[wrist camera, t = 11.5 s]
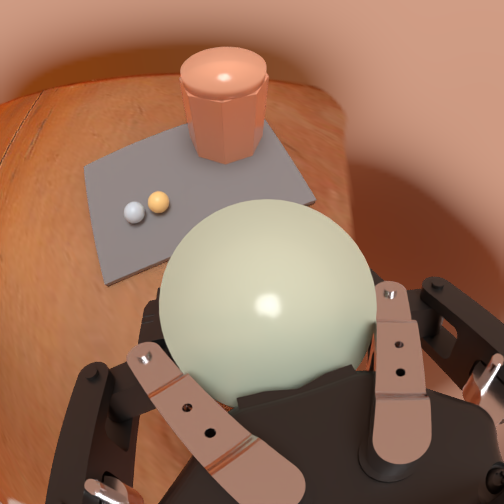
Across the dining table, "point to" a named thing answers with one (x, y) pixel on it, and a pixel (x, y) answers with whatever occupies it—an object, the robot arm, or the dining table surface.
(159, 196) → the amber marble
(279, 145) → the slate mat
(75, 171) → the dining table surface
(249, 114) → the faceted peach canister
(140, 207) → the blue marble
